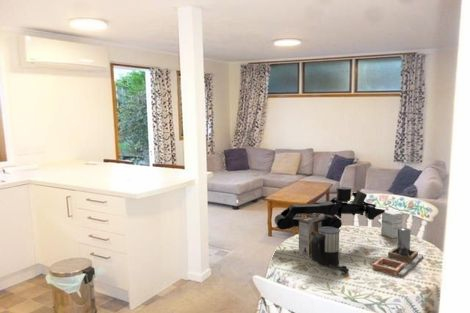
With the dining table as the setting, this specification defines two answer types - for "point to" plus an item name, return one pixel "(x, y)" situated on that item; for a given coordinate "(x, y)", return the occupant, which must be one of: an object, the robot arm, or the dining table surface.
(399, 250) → the grey peg
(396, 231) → the supplement box
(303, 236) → the coffee box
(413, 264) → the socket rail
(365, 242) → the dining table surface
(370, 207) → the robot arm
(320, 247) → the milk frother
